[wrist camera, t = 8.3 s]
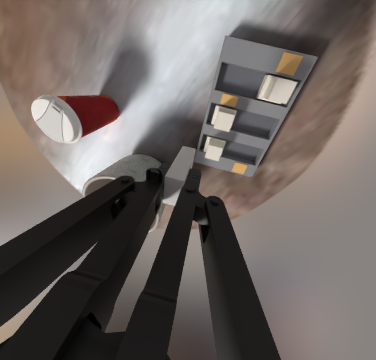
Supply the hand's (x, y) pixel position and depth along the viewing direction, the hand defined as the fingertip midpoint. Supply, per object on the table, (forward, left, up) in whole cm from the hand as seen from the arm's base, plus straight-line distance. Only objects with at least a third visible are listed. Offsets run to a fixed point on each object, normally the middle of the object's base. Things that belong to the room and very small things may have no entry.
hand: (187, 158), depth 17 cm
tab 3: (-8, +10, -18) cm, 22 cm away
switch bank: (-2, +7, -19) cm, 20 cm away
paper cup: (+3, -23, -19) cm, 30 cm away
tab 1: (-2, +4, -18) cm, 18 cm away
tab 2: (+4, +4, -18) cm, 18 cm away
